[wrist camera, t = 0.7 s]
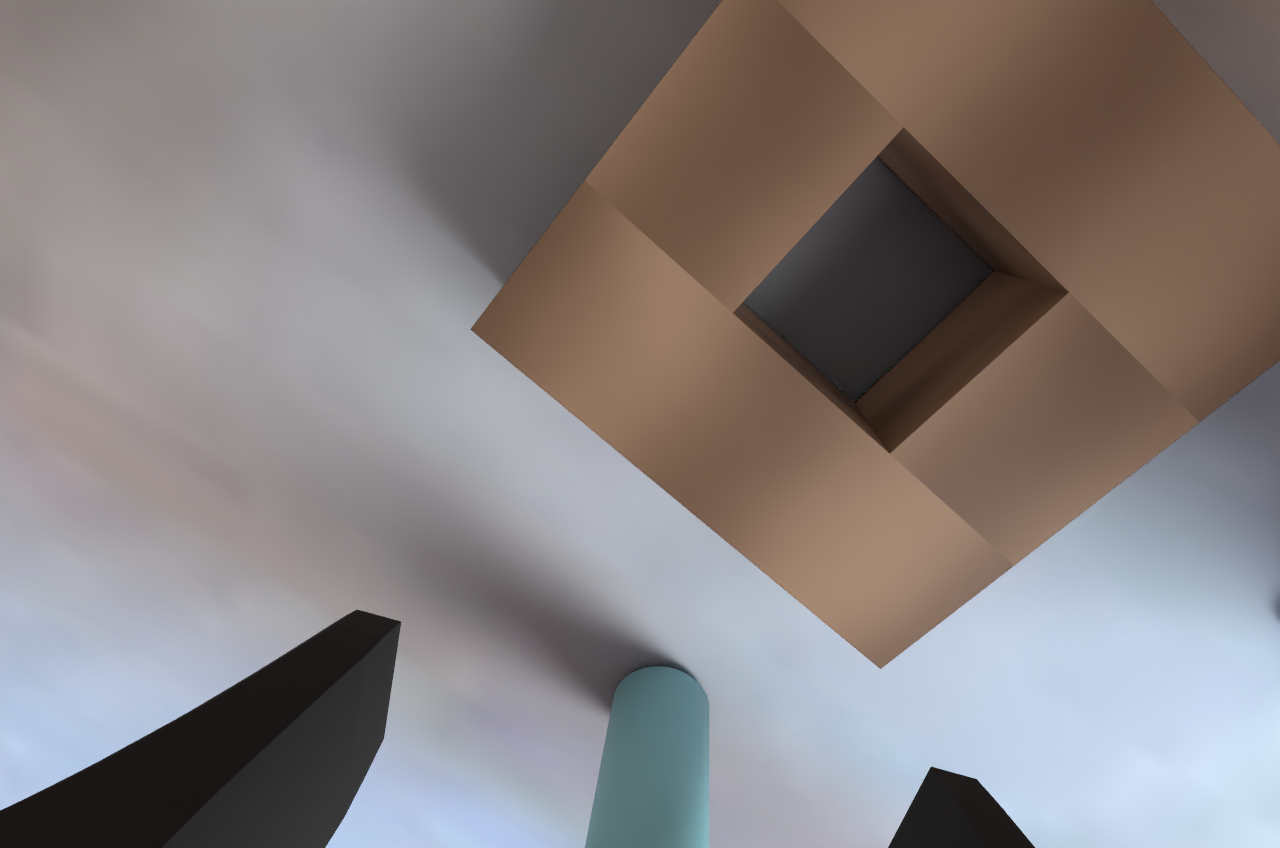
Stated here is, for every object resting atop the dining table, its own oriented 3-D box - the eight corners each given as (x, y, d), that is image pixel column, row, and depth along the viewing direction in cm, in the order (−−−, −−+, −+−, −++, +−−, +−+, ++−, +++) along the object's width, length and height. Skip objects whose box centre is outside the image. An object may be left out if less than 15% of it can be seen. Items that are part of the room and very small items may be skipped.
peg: (729, 706, 21) (743, 1063, 12) (665, 759, 22) (636, 1125, 13) (655, 649, 20) (617, 978, 12) (593, 705, 21) (516, 1048, 13)
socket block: (1245, 254, 15) (1393, 272, 12) (850, 585, 19) (880, 669, 16) (868, -149, 13) (920, -259, 10) (516, 302, 17) (470, 329, 14)
